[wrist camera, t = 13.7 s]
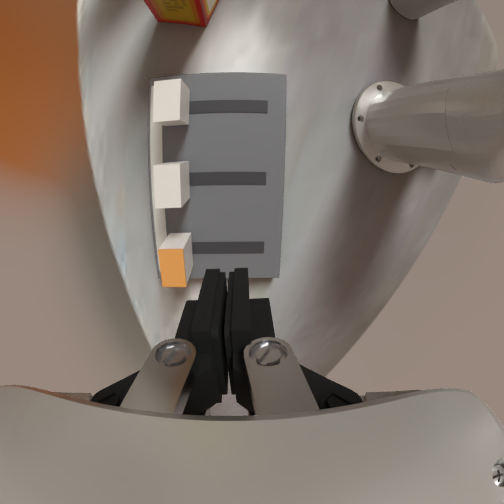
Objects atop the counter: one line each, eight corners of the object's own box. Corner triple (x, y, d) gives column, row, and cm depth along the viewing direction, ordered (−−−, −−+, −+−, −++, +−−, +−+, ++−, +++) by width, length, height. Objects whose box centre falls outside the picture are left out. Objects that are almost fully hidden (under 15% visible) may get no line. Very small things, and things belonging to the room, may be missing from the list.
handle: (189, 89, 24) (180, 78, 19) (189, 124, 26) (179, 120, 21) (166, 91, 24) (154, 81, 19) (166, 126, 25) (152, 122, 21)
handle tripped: (191, 232, 30) (182, 249, 25) (193, 265, 32) (186, 287, 27) (169, 233, 30) (157, 250, 25) (172, 265, 31) (162, 286, 26)
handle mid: (189, 161, 27) (179, 163, 22) (190, 197, 29) (181, 207, 24) (166, 162, 27) (153, 165, 22) (167, 198, 28) (155, 208, 24)
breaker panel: (282, 79, 27) (286, 74, 24) (276, 268, 36) (279, 278, 33) (155, 83, 26) (149, 78, 23) (163, 269, 35) (158, 278, 32)
